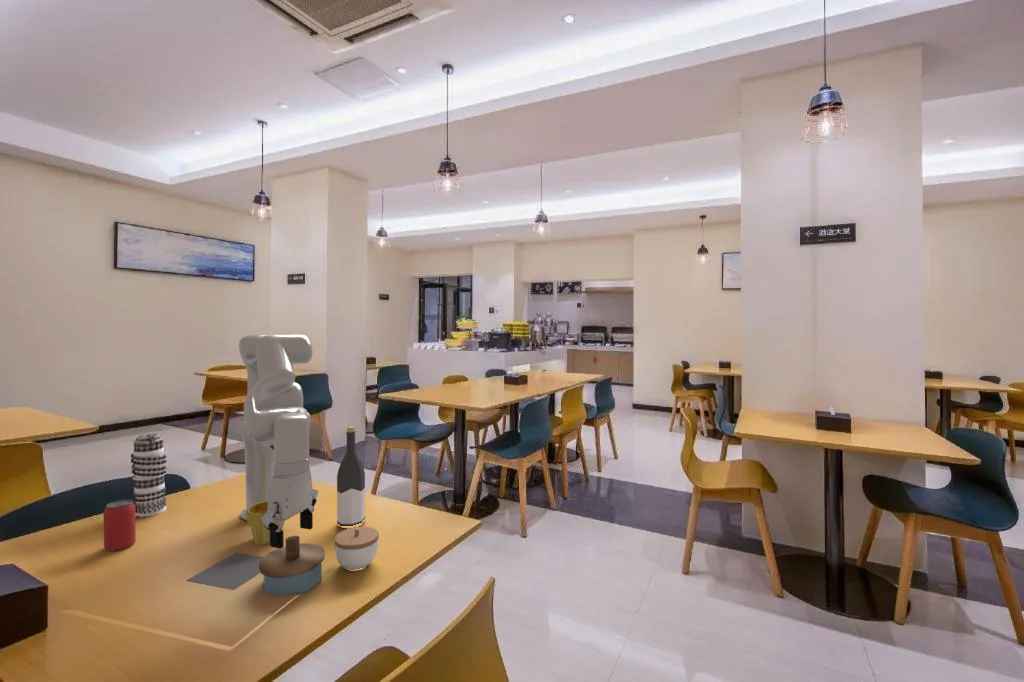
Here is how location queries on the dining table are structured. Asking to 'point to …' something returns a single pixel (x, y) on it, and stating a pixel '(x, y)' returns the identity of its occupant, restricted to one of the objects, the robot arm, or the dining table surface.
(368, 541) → the lidded jar
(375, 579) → the dining table surface
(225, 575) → the mat
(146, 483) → the decorative candle
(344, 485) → the wine bottle
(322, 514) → the dining table surface
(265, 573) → the lid
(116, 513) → the beer can
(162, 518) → the dining table surface
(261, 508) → the plant pot
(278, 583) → the bowl
